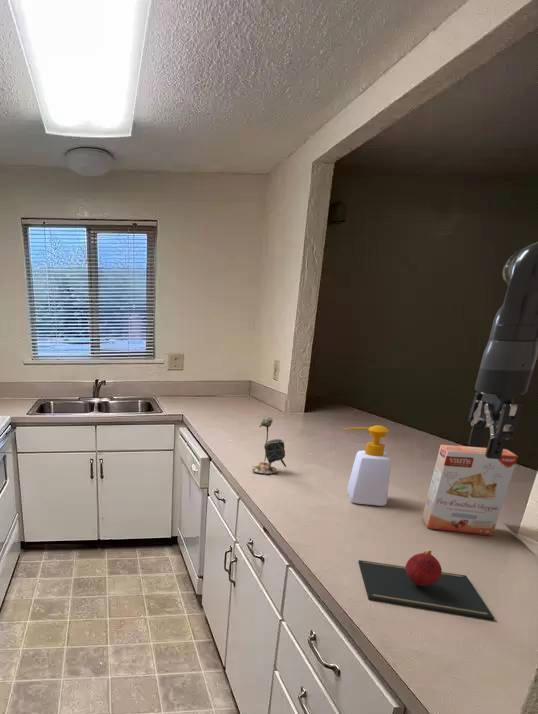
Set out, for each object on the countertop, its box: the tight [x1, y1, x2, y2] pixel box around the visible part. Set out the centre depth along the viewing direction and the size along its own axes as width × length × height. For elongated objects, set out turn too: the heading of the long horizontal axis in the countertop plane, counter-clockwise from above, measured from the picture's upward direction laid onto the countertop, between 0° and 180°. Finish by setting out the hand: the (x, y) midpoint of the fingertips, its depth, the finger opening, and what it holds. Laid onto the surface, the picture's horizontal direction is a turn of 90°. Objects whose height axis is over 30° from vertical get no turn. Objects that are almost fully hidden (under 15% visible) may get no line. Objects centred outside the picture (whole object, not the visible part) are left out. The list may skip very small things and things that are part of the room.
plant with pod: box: [252, 415, 287, 475], centre depth 147 cm, size 8×11×20 cm
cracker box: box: [421, 444, 519, 537], centre depth 106 cm, size 14×6×21 cm, turn 72°
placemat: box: [358, 559, 495, 621], centre depth 86 cm, size 20×14×1 cm
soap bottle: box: [342, 424, 392, 507], centre depth 124 cm, size 10×14×22 cm
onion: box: [405, 549, 443, 586], centre depth 84 cm, size 6×6×8 cm
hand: (483, 451), depth 84 cm, fingers open, 8 cm apart
